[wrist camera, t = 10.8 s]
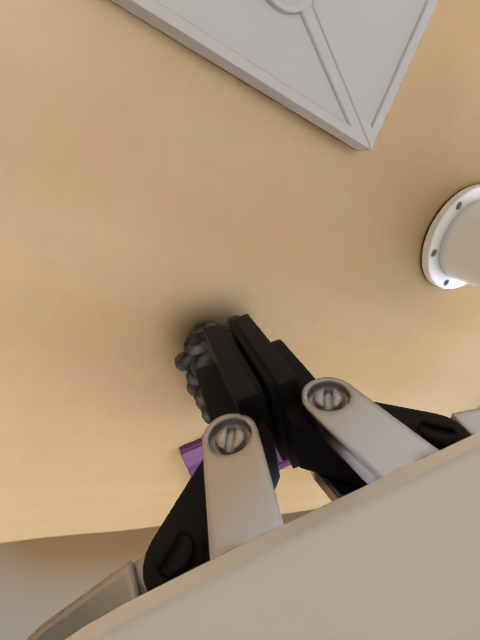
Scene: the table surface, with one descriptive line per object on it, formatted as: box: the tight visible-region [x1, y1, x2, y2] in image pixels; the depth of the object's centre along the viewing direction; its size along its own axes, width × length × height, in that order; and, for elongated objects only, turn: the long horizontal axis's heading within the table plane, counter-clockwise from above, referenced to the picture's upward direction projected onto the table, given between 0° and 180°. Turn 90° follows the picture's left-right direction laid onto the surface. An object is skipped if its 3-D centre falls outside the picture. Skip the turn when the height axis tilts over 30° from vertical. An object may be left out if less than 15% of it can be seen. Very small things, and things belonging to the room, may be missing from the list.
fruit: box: [175, 315, 239, 424], centre depth 30 cm, size 9×8×15 cm
